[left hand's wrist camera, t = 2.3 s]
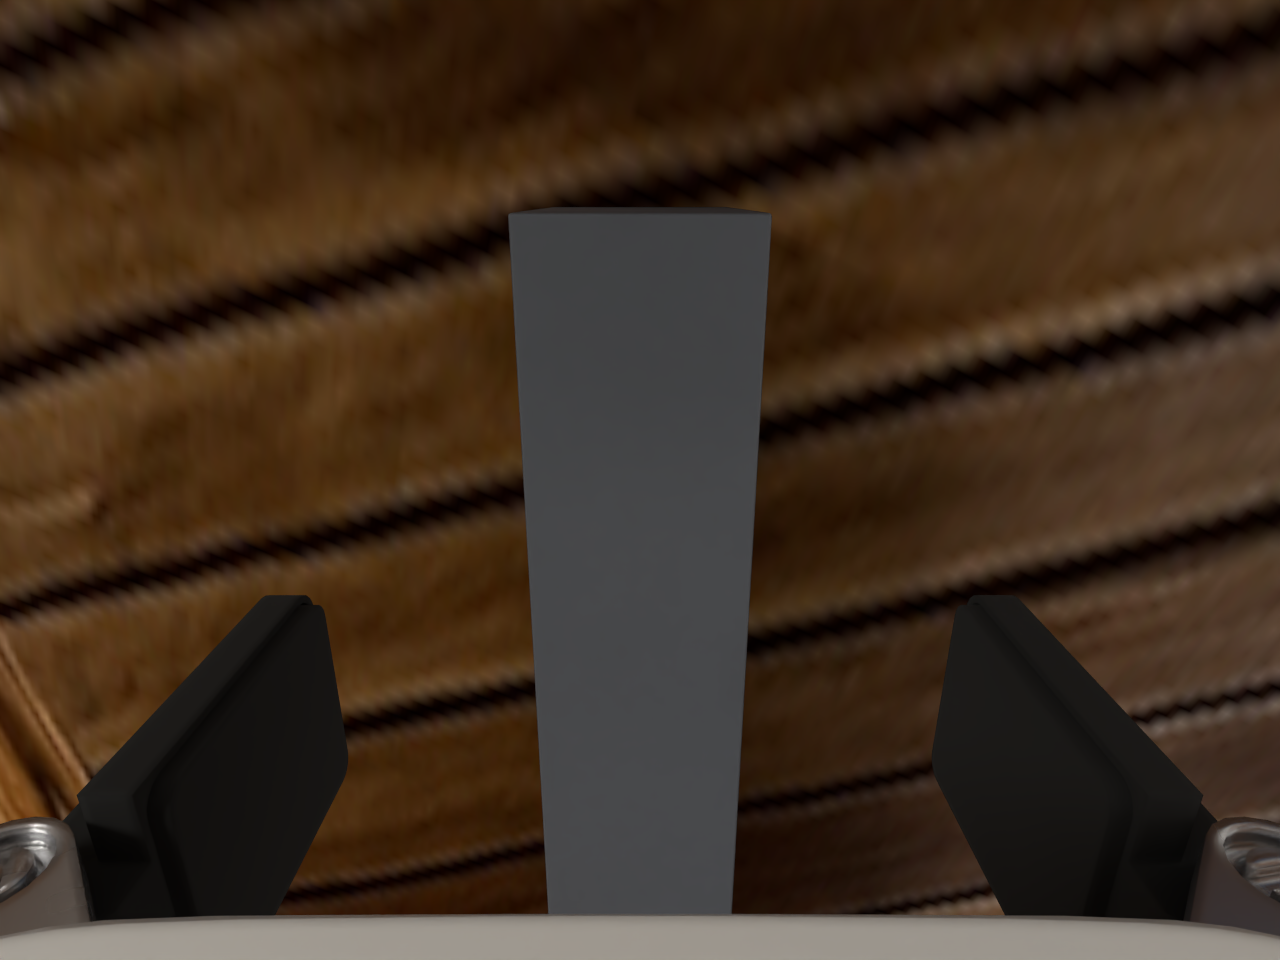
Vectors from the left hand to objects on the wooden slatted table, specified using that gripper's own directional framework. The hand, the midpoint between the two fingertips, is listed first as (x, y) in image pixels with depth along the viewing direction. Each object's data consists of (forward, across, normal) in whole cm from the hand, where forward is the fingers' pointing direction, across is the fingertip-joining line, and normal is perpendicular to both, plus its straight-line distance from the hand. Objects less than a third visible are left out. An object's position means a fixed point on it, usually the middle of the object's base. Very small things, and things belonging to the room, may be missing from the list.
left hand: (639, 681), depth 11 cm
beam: (+17, 0, +33) cm, 37 cm away
